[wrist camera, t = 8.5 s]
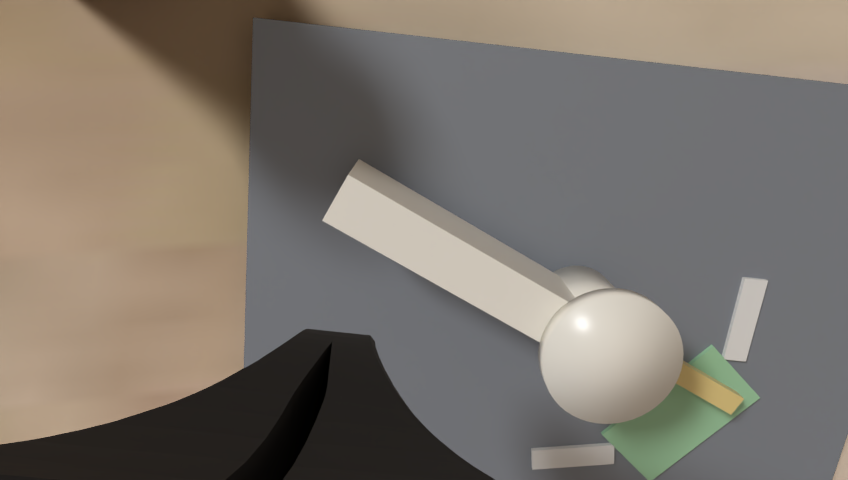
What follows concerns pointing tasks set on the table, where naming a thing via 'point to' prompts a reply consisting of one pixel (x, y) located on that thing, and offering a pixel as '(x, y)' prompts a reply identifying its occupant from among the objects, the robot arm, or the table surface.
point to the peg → (533, 303)
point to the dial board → (565, 239)
